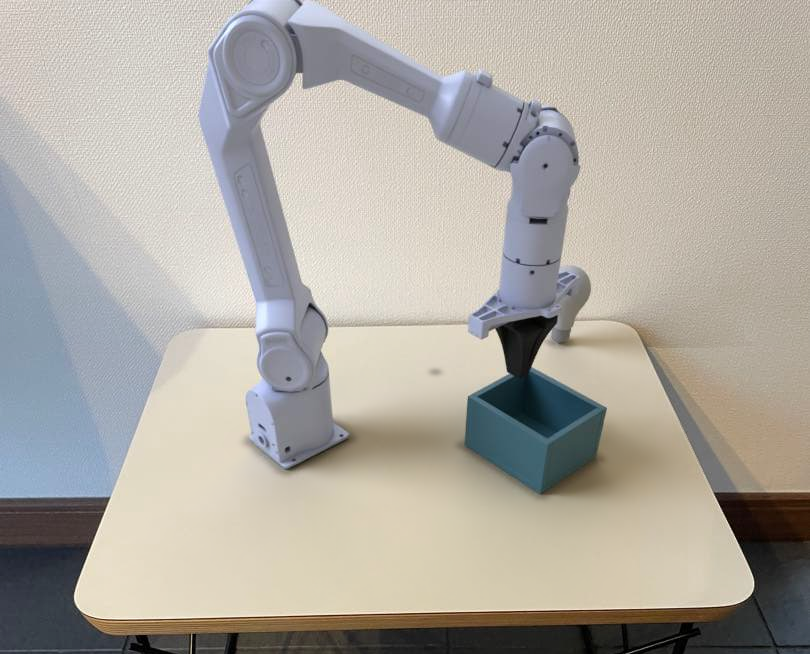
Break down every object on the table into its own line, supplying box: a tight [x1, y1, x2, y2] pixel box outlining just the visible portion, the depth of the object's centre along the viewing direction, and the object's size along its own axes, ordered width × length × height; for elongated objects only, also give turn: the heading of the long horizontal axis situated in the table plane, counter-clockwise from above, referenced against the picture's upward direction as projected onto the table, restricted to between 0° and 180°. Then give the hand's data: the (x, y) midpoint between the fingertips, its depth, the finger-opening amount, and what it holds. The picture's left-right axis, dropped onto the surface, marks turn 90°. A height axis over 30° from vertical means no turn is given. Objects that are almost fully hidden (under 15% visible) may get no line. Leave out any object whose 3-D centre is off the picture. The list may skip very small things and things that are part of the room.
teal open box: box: [464, 366, 608, 495], centre depth 88 cm, size 7×12×10 cm
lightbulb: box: [550, 264, 592, 344], centre depth 104 cm, size 6×6×11 cm
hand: (517, 373), depth 84 cm, fingers closed
